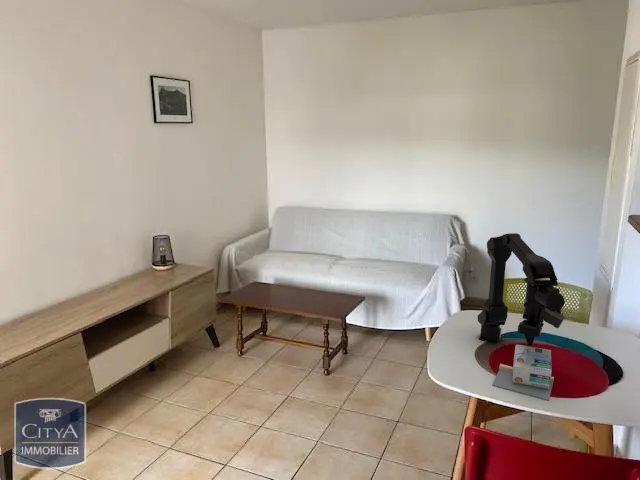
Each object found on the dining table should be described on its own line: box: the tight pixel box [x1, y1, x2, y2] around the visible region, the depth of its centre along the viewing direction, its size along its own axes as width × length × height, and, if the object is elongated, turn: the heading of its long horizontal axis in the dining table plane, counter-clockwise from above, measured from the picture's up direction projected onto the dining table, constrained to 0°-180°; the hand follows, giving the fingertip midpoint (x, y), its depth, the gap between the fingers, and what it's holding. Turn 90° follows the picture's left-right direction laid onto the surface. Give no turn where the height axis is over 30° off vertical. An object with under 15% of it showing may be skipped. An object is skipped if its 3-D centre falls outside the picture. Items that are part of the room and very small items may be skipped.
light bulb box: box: [512, 344, 552, 389], centre depth 148 cm, size 11×7×11 cm
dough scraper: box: [491, 363, 555, 401], centre depth 147 cm, size 16×12×2 cm
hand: (530, 345), depth 151 cm, fingers closed
